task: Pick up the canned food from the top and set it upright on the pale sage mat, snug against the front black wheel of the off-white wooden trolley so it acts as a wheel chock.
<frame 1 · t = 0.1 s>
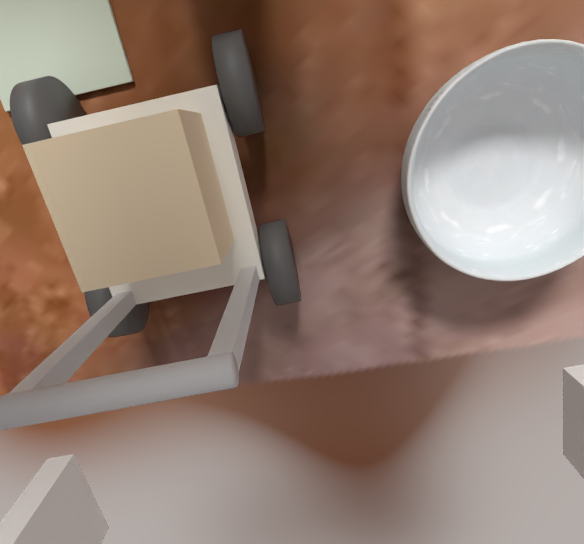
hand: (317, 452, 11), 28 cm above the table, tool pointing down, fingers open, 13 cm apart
cereal bowl: (483, 163, 36), on the table
trolley: (185, 192, 37), on the table
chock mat: (44, 22, 32), on the table
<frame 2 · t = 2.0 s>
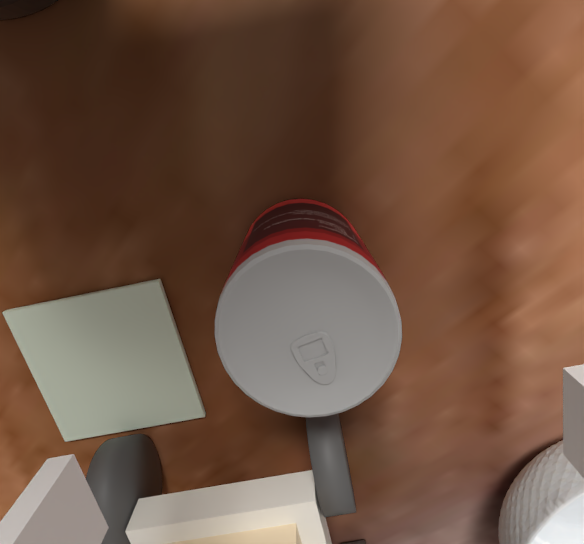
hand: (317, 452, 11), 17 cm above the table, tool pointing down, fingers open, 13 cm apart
cereal bowl: (577, 478, 33), on the table
trolley: (255, 504, 34), on the table
canned food: (302, 256, 27), on the table
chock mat: (110, 364, 30), on the table
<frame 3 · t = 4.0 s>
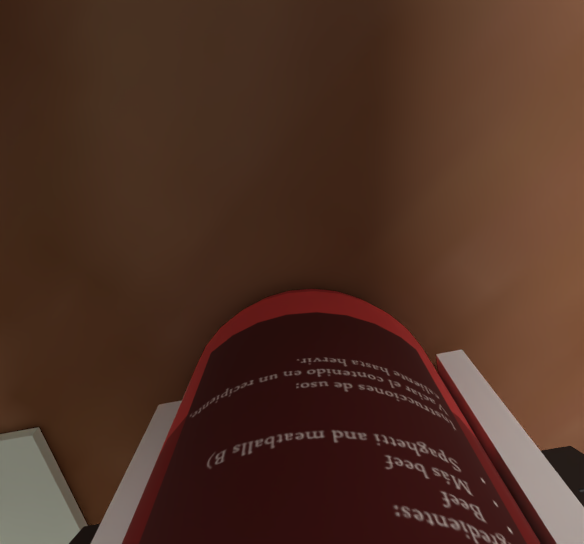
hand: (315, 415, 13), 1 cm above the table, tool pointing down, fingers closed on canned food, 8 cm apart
canned food: (313, 388, 14), on the table, touching gripper
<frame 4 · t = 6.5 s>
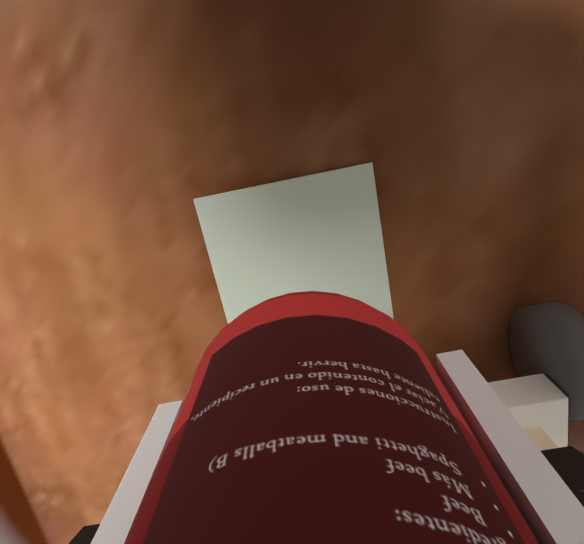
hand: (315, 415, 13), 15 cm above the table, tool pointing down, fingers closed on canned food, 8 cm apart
trolley: (428, 432, 31), on the table
canned food: (313, 390, 14), point 14 cm above the table, touching gripper
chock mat: (299, 264, 27), on the table
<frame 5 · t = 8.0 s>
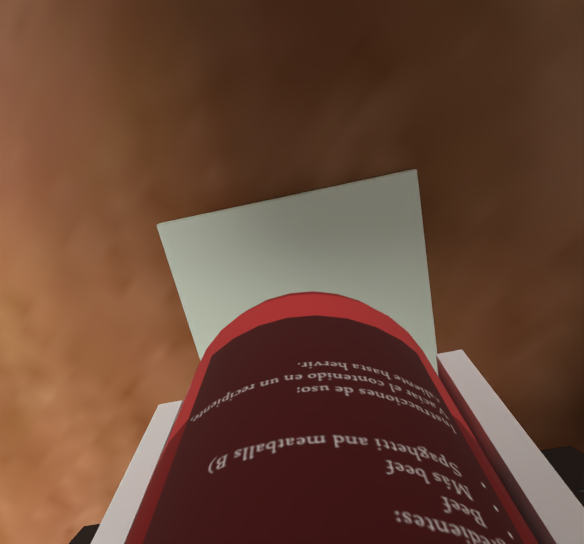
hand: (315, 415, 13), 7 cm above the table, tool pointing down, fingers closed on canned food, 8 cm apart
canned food: (313, 390, 14), point 6 cm above the table, touching gripper
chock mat: (309, 313, 19), on the table
when the fingers open (3 cm above the table, at t = 9.3 s): canned food moves 1 cm, resting on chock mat.
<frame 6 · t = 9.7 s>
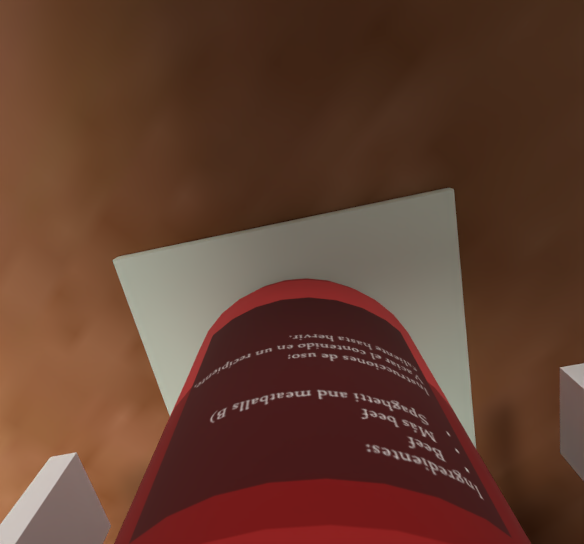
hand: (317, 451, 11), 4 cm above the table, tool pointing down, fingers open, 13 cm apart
canned food: (307, 372, 15), resting on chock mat
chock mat: (311, 368, 15), on the table
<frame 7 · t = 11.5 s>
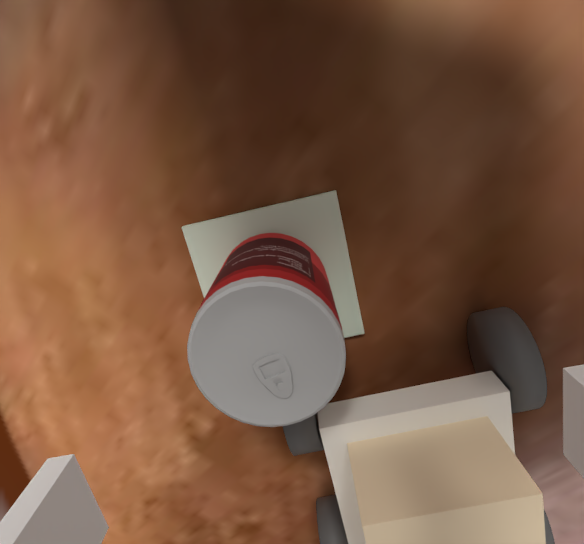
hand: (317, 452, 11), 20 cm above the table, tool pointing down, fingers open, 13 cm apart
trolley: (401, 428, 35), on the table
canned food: (275, 282, 30), resting on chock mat
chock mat: (277, 280, 31), on the table
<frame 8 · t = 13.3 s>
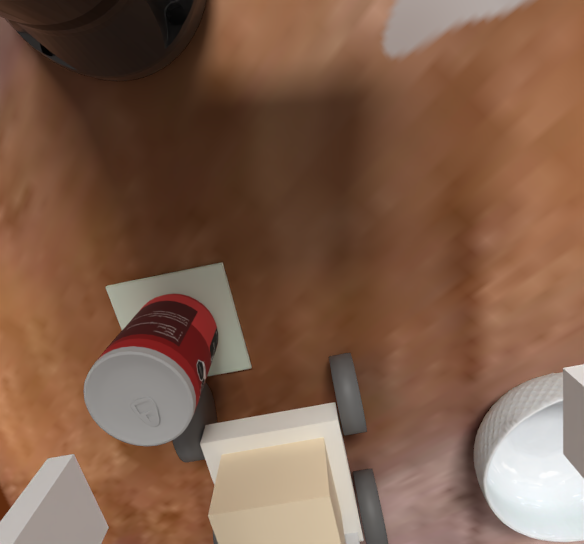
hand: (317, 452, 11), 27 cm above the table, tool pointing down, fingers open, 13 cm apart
cereal bowl: (536, 419, 43), on the table
trolley: (286, 440, 44), on the table
canned food: (179, 328, 39), resting on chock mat
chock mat: (181, 327, 40), on the table
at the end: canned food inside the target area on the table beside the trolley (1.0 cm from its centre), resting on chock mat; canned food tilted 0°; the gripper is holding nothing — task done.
